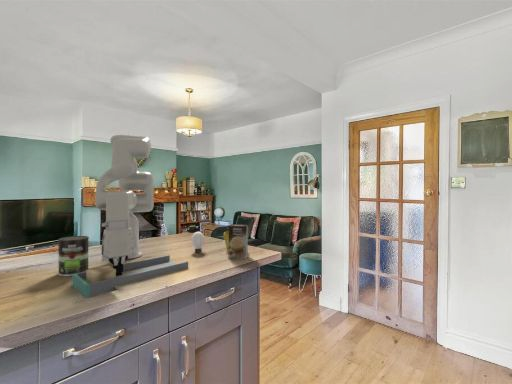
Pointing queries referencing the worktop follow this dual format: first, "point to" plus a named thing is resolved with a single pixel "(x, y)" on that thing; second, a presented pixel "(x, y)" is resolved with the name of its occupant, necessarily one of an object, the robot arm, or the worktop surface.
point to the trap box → (127, 275)
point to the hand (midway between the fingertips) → (118, 274)
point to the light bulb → (198, 241)
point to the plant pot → (226, 239)
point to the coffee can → (73, 255)
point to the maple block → (100, 274)
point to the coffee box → (238, 241)
